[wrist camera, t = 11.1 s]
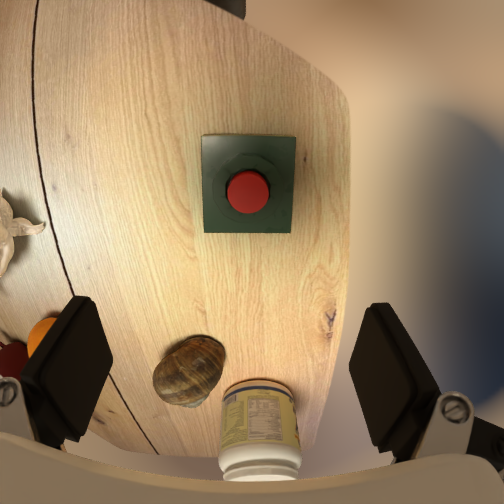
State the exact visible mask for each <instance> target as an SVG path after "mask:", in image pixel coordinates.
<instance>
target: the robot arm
mask: <svg viewBox="0 0 504 504" xmlns="http://www.w3.org/2000/svg"><path fill="white" fill-rule="evenodd" d="M112 364H113V356H112V353H111V350H110V347H109V345H108V342H107V339H106V336H105V333H104V330H103V327H102V324H101V320H100V317H99V314H98V311H97V307H96V304H95V302H94V301H92V300H91V298H90V297H87V296H74V297H72V299H71V300H70V301H69V303H68V304H67V305H66V307H65V308H64V309H63V311H62V312H61V313H60V315H59V316H58V318H57V319H56V320H55V322H54V323H53V324H52V326H51V327H50V329H49V330H48V331H47V333H46V334H45V336H44V337H43V339H42V340H41V342H40V343H39V345H38V346H37V348H36V349H35V351H34V352H33V354H32V355H31V357H30V358H29V360H28V361H27V363H26V364H25V366H24V368H23V369H22V371H21V372H20V374H19V375H20V377H21V380H20V381H18V380H17V379H15V378H13V377H4V378H1V379H0V504H504V429H503V428H500V427H498V426H496V425H494V424H491V423H489V422H487V421H484V420H482V419H480V418H477V417H475V416H474V407H473V404H472V403H471V401H470V400H469V399H468V398H467V397H466V396H465V395H463V394H461V393H459V392H455V391H448V392H445V393H443V394H441V392H440V390H439V387H438V385H437V383H436V381H435V380H434V378H433V376H432V374H431V372H430V370H429V369H428V367H427V365H426V363H425V361H424V360H423V358H422V356H421V355H420V353H419V351H418V349H417V348H416V346H415V344H414V343H413V341H412V339H411V338H410V336H409V334H408V333H407V331H406V329H405V328H404V326H403V324H402V323H401V322H400V320H399V318H398V316H397V315H396V313H395V312H394V310H393V308H392V307H391V305H390V304H389V303H373V304H372V305H371V306H370V307H369V308H367V309H366V311H365V314H364V318H363V321H362V324H361V328H360V331H359V334H358V338H357V341H356V344H355V347H354V350H353V353H352V356H351V359H350V362H349V371H350V374H351V377H352V380H353V383H354V386H355V389H356V392H357V396H358V399H359V402H360V405H361V408H362V411H363V415H364V418H365V421H366V424H367V428H368V431H369V434H370V437H371V441H372V444H373V445H374V446H377V447H378V450H379V453H383V452H387V451H392V453H393V456H394V459H393V461H392V462H391V464H390V465H388V466H384V467H379V468H375V469H369V470H364V471H358V472H352V473H347V474H340V475H334V476H327V477H319V478H309V479H298V480H283V481H215V480H201V479H189V478H180V477H172V476H165V475H159V474H153V473H147V472H141V471H136V470H131V469H126V468H121V467H117V466H113V465H109V464H105V463H101V462H97V461H93V460H90V459H87V458H83V457H80V456H77V455H73V454H70V453H67V452H66V449H65V447H64V444H63V443H64V440H65V438H66V439H68V440H71V441H74V442H79V440H80V437H81V436H84V434H85V432H86V430H87V427H88V425H89V422H90V419H91V416H92V414H93V411H94V409H95V406H96V403H97V401H98V398H99V396H100V393H101V391H102V388H103V386H104V383H105V381H106V379H107V376H108V374H109V371H110V369H111V367H112Z"/></svg>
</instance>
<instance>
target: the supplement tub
mask: <svg viewBox="0 0 504 504" xmlns="http://www.w3.org/2000/svg"><path fill="white" fill-rule="evenodd" d="M218 461H219V466H220V468H221V470H222V471H223V472H224V473H225V474H224V475H223V479H224V481H283V480H298V471H297V470H298V468H299V467H300V465H301V462H302V455H301V448H300V440H299V433H298V426H297V419H296V412H295V405H294V398H293V396H292V394H291V393H290V391H289V390H288V389H287V388H286V387H284V386H282V385H280V384H278V383H275V382H271V381H264V380H255V381H247V382H243V383H240V384H237V385H235V386H233V387H231V388H230V389H229V390H228V391H227V392H226V393H225V395H224V397H223V400H222V409H221V425H220V443H219V458H218Z"/></svg>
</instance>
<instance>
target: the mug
mask: <svg viewBox="0 0 504 504" xmlns="http://www.w3.org/2000/svg"><path fill="white" fill-rule="evenodd" d="M0 346H1V347H2V349H1V350H0V379H1V378H4V377H13V378H15V379H17V380H18V381H20V380H21V377H20V375H19V374H20V372H21V371H22V369H23V368H24V366H25V364H26V363H27V361H28V360H29V355H28V349H27V347H26V346H25V345H24V344H22V343H20V342H14V343H11V344H8V345H4V344H3V343H2V342H0Z"/></svg>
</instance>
